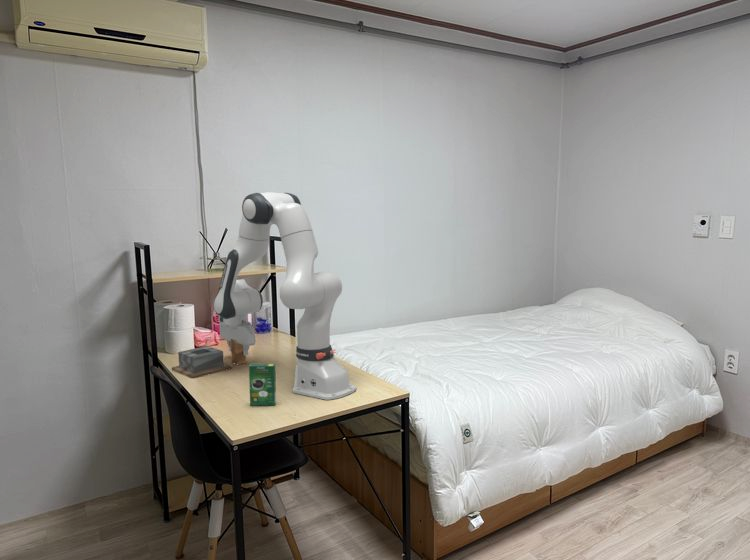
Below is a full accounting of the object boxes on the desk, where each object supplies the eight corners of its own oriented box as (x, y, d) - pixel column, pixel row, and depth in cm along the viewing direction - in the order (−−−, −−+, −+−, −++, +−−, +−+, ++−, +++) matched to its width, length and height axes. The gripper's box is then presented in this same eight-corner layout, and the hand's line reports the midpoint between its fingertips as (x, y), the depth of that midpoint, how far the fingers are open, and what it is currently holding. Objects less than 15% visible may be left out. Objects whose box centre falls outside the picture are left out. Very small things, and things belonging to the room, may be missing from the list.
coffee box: (277, 402, 165) (275, 362, 163) (275, 406, 162) (274, 365, 160) (252, 403, 165) (250, 362, 163) (249, 406, 162) (247, 365, 160)
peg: (246, 362, 208) (244, 338, 207) (237, 365, 205) (236, 340, 204) (240, 361, 211) (239, 337, 210) (231, 363, 208) (230, 338, 207)
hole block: (231, 368, 201) (230, 350, 200) (192, 378, 189) (191, 360, 188) (209, 360, 212) (208, 344, 211) (171, 369, 200) (170, 352, 199)
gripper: (258, 321, 201) (260, 355, 203) (229, 314, 215) (231, 347, 217) (244, 324, 196) (246, 359, 198) (216, 317, 210) (217, 350, 212)
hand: (238, 353), depth 207 cm, fingers open, 8 cm apart
